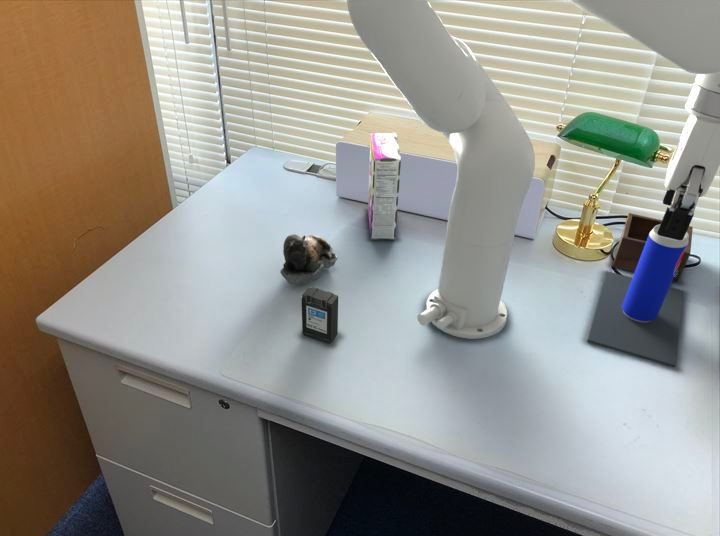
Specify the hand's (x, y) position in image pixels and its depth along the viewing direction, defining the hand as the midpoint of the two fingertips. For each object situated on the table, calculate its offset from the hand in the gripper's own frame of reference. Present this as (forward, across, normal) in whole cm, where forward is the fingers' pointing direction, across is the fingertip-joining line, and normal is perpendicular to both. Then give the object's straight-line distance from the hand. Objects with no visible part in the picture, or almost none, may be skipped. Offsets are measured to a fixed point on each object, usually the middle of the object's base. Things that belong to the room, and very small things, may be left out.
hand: (671, 220), depth 88 cm
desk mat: (+17, 0, +1) cm, 17 cm away
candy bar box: (+18, -7, -46) cm, 50 cm away
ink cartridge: (+19, +27, -42) cm, 53 cm away
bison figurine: (+19, +14, -50) cm, 55 cm away
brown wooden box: (+17, -18, +1) cm, 25 cm away
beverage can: (+17, 0, +1) cm, 17 cm away
